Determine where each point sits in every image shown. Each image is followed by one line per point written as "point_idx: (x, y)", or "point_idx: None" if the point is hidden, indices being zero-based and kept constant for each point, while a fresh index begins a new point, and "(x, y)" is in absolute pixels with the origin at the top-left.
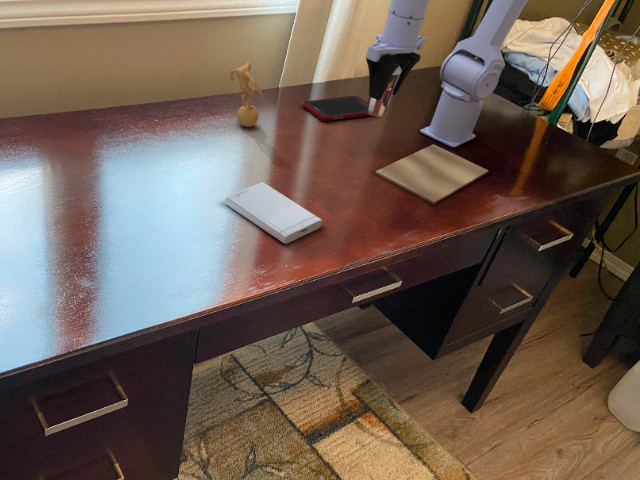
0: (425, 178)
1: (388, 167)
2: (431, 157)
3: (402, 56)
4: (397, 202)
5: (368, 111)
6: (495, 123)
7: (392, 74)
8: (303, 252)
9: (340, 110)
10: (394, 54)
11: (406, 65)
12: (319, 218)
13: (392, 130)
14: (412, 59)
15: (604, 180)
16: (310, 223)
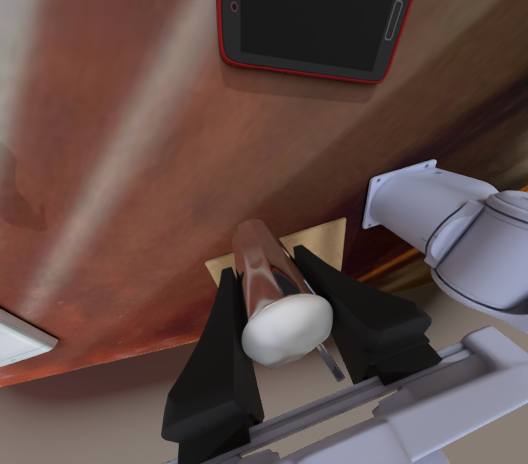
0: None
1: (230, 259)
2: (309, 246)
3: (357, 361)
4: (193, 306)
5: (232, 239)
6: None
7: (253, 368)
8: (21, 363)
9: (299, 34)
10: (359, 340)
11: (340, 346)
12: (48, 348)
13: (340, 156)
14: (353, 380)
15: (410, 287)
16: (28, 356)
